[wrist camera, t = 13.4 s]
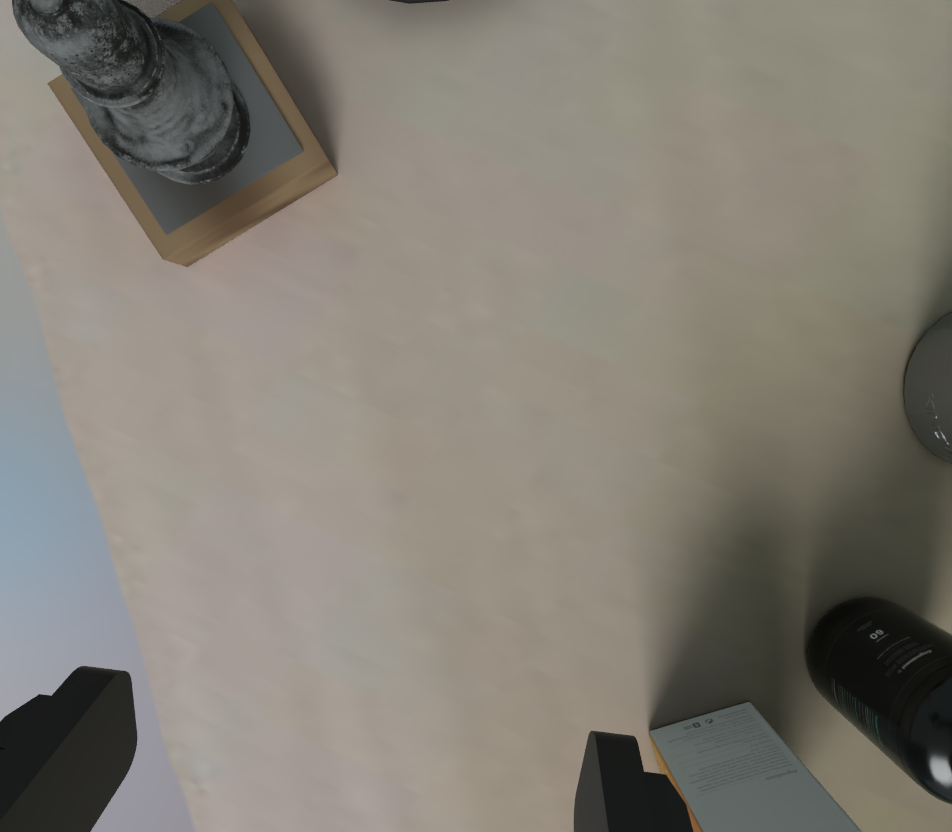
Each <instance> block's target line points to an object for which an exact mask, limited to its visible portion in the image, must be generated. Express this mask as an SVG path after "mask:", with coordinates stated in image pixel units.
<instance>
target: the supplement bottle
mask: <svg viewBox="0 0 952 832" xmlns="http://www.w3.org/2000/svg"><path fill="white" fill-rule="evenodd" d="M807 664H808V670H809V674H810V677H811V679H812V681H813V683H814V685H815V687H816V689H817V690H818V691H819V693H820V694H821V695H822V696H823V697H824V698H825V699H826V700H827V701H828V702H829V703H830V704H831V705H832V706H833V707H834V708H835V709H836V710H837V711H838V712H839V713H841V714H842V715H843V716H844V717H845V718H846V719H847V720H848V721H849V722H850V723H851V724H853V725H854V726H855V727H856V728H857V729H858V730H859V731H860V732H861V733H862V734H863V735H865V736H866V737H867V738H868V739H869V740H870V741H871V742H872V743H873V744H874V745H875V746H877V747H878V748H879V749H880V750H881V751H882V752H883V753H884V754H885V755H886V756H887V757H889V758H890V759H891V760H892V761H893V762H894V763H895V764H896V765H897V766H898V767H899V768H901V769H902V770H903V771H904V772H905V773H906V774H907V775H908V776H909V777H910V778H912V779H913V780H914V781H915V782H916V783H917V784H918V785H920V786H921V787H922V788H923V789H924V790H926V791H927V792H928V793H929V794H931V795H932V796H934V797H936V798H937V799H939V800H941V801H944V802H946V803H949V804H952V634H950V633H948V632H947V631H945V630H943V629H941V628H939V627H938V626H936V625H934V624H932V623H931V622H929V621H927V620H925V619H924V618H922V617H920V616H918V615H916V614H915V613H913V612H911V611H909V610H907V609H905V608H903V607H902V606H900V605H898V604H896V603H893V602H891V601H888V600H885V599H880V598H871V597H867V598H858V599H853V600H850V601H847V602H845V603H842V604H840V605H839V606H837V607H835V608H834V609H832V610H831V611H830V612H828V613H827V614H826V615H825V616H824V617H823V618H822V619H821V621H820V622H819V623H818V625H817V626H816V628H815V630H814V631H813V634H812V636H811V638H810V641H809V645H808V651H807Z"/></svg>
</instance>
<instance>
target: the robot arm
mask: <svg viewBox="0 0 952 832" xmlns="http://www.w3.org/2000/svg"><path fill="white" fill-rule="evenodd" d="M904 400H905V406H906V413H907V416H908V418H909V421H910V424H911V426H912V429H913V430H914V432H915V433H916V435H917V436H918V438H919V439H920V441H921V442H922V443H923V444H924V445H925V446H926V447H927V448H928V449H929V450H930V451H931V452H932V453H933V454H935V455H936V456H938V457H940V458H942V459H943V460H945V461H947V462H950V463H952V312H951V313H950V314H948V315H946V316H945V317H943V318H941V319H940V320H939V321H938V322H937V323H936V324H935V325H934V326H932V327H931V328H930V329H929V330H928V331H927V333H926V334H925V335H924V337H923V338H922V339H921V341H920V342H919V343H918V345H917V346H916V349H915V351H914V353H913V355H912V357H911V359H910V361H909V365H908V369H907V372H906V376H905V386H904ZM136 745H137V730H136V720H135V710H134V700H133V691H132V682H131V677H130V674H129V673H128V672H126V671H120V670H112V669H104V668H96V667H88V666H81V667H79V668H77V669H76V670H75V671H73V672H72V673H71V674H70V676H69V677H68V678H67V679H66V680H65V681H64V682H63V684H62V685H61V686H60V687H59V688H58V689H57V690H56V691H55V693H54V694H53V695H52V696H49V695H40V694H39V695H38V696H36V697H35V698H33V699H31V700H30V701H28V702H27V703H25V704H24V705H22V706H21V707H19V708H18V709H16V710H15V711H13V712H11V713H10V714H8V715H7V716H5V717H4V718H3V719H2V721H1V722H0V832H90V831H91V830H92V828H93V827H94V825H95V823H96V822H97V820H98V819H99V817H100V816H101V814H102V812H103V811H104V809H105V808H106V806H107V805H108V803H109V801H110V800H111V798H112V797H113V795H114V794H115V792H116V791H117V789H118V788H119V786H120V784H121V783H122V781H123V780H124V778H125V776H126V774H127V773H128V771H129V769H130V766H131V764H132V761H133V758H134V755H135V751H136ZM574 832H694V831H693V828H692V824H691V820H690V816H689V813H688V809H687V805H686V803H685V802H684V800H683V799H682V797H681V796H680V794H679V793H678V791H677V790H676V788H675V787H674V785H673V784H672V783H671V781H670V780H669V778H668V777H667V775H665V774H657V773H649V772H644V770H643V765H642V760H641V756H640V751H639V746H638V742H637V740H636V738H635V737H634V736H630V735H622V734H614V733H606V732H598V731H591V732H590V733H589V736H588V740H587V745H586V750H585V754H584V759H583V764H582V768H581V773H580V777H579V782H578V787H577V791H576V797H575V806H574Z"/></svg>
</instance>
